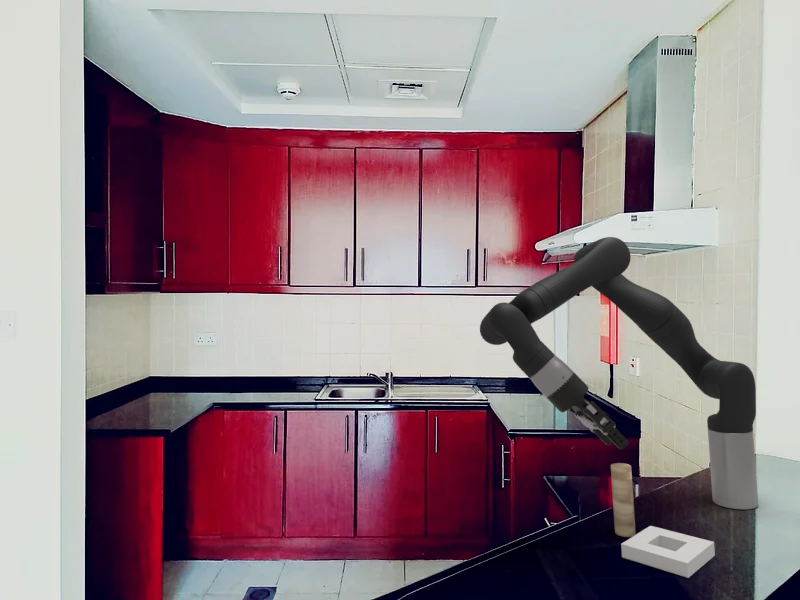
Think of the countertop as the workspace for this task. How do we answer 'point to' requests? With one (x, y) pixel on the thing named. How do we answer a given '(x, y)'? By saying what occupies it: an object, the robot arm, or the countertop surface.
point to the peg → (623, 499)
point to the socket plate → (668, 550)
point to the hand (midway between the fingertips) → (618, 444)
